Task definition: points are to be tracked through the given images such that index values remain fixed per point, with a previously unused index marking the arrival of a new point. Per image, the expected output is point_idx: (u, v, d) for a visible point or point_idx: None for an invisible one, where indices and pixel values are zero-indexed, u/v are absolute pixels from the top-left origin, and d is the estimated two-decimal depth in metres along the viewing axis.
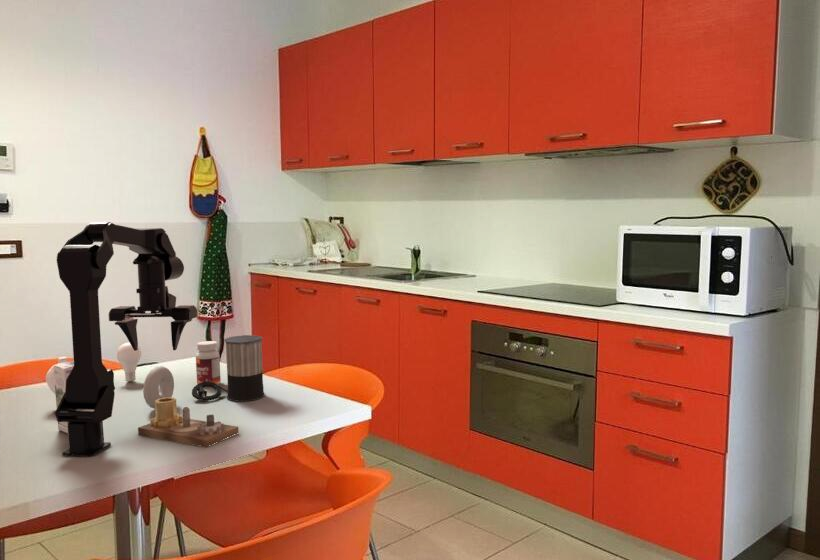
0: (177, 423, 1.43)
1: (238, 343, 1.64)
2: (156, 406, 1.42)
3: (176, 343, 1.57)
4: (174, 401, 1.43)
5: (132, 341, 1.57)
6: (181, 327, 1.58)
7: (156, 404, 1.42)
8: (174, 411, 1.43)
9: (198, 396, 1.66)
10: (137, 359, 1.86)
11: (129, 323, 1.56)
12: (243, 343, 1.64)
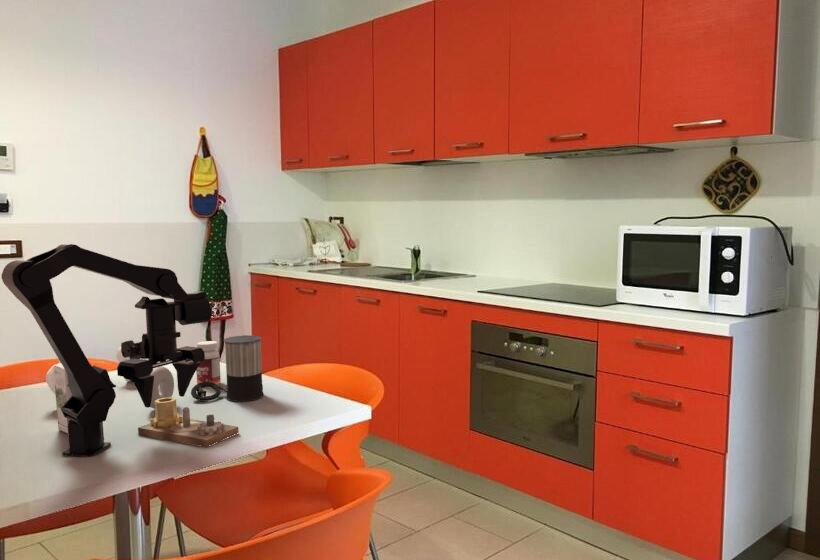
0: (177, 423, 1.43)
1: (237, 343, 1.64)
2: (156, 406, 1.42)
3: None
4: (174, 401, 1.43)
5: (150, 396, 1.39)
6: None
7: (156, 404, 1.42)
8: (174, 411, 1.43)
9: (197, 396, 1.66)
10: None
11: None
12: (242, 343, 1.64)
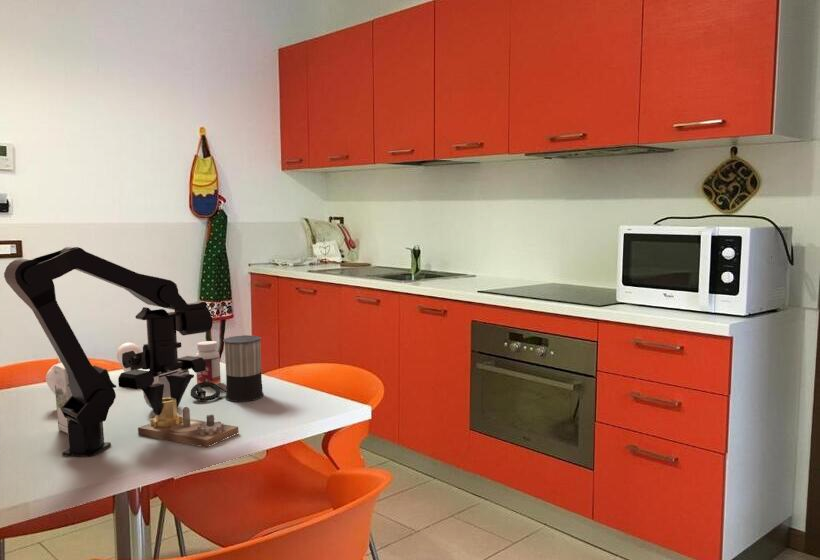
0: (177, 423, 1.43)
1: (237, 343, 1.64)
2: None
3: None
4: (174, 401, 1.43)
5: (160, 404, 1.41)
6: None
7: None
8: (174, 411, 1.43)
9: (197, 396, 1.65)
10: None
11: None
12: (242, 343, 1.64)
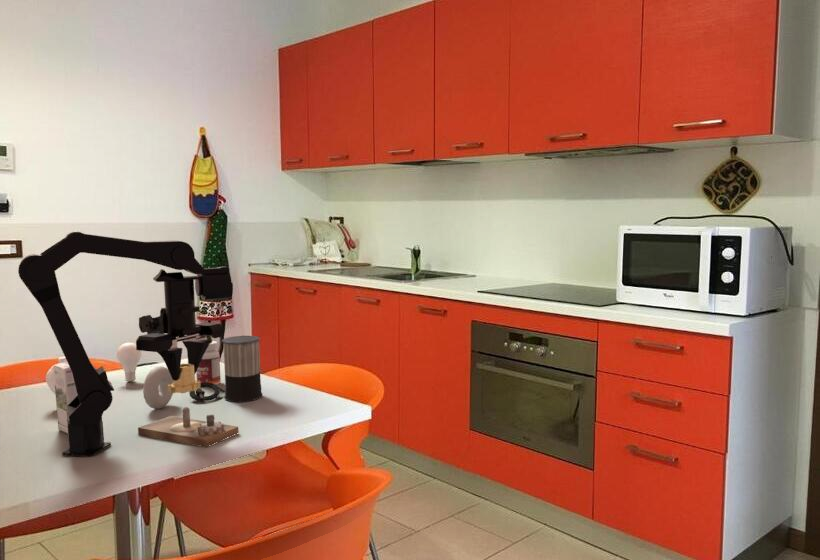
0: (195, 389, 1.39)
1: (235, 343, 1.64)
2: None
3: None
4: (192, 366, 1.40)
5: (178, 369, 1.38)
6: None
7: None
8: (192, 377, 1.40)
9: (196, 396, 1.65)
10: (137, 359, 1.86)
11: None
12: (240, 343, 1.64)
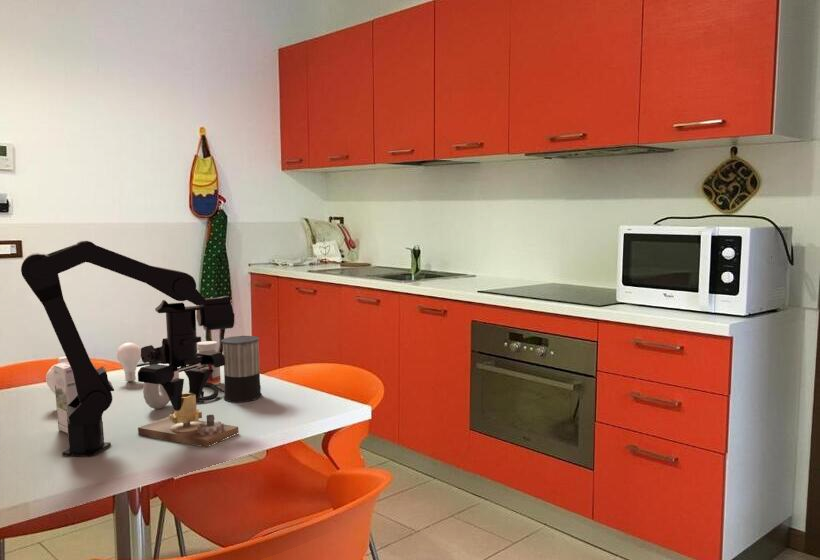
0: (197, 419, 1.40)
1: (235, 343, 1.64)
2: None
3: None
4: (193, 396, 1.41)
5: (180, 400, 1.38)
6: None
7: None
8: (194, 407, 1.40)
9: None
10: (137, 359, 1.86)
11: None
12: (240, 344, 1.64)
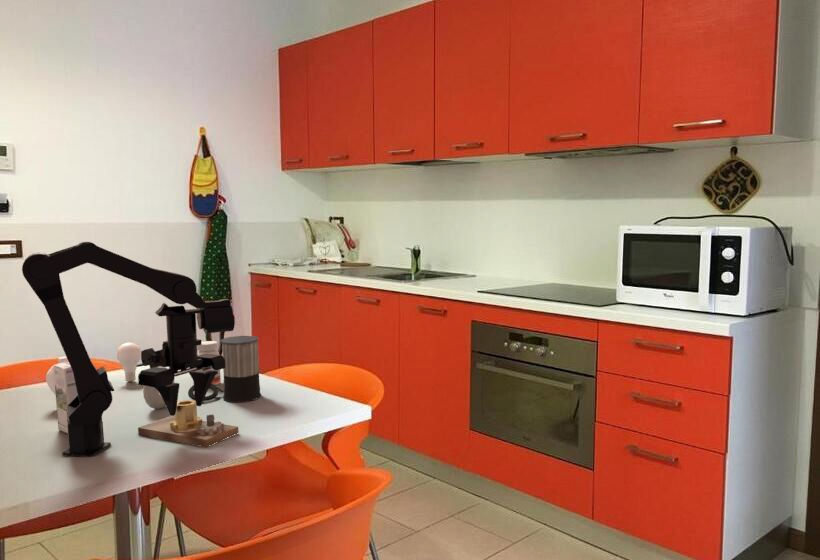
0: (197, 427, 1.40)
1: (234, 344, 1.63)
2: (176, 409, 1.40)
3: None
4: (194, 404, 1.41)
5: (175, 404, 1.37)
6: None
7: None
8: (194, 414, 1.41)
9: (194, 397, 1.65)
10: (137, 359, 1.86)
11: None
12: (239, 344, 1.63)
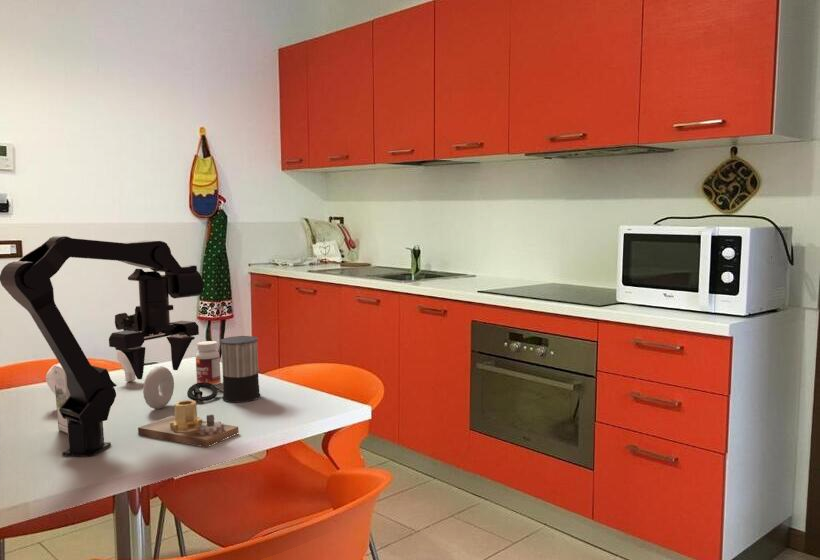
0: (197, 427, 1.40)
1: (233, 344, 1.63)
2: (176, 409, 1.40)
3: None
4: (194, 404, 1.41)
5: (142, 368, 1.39)
6: None
7: (176, 407, 1.39)
8: (194, 414, 1.41)
9: (193, 397, 1.65)
10: None
11: None
12: (238, 344, 1.63)
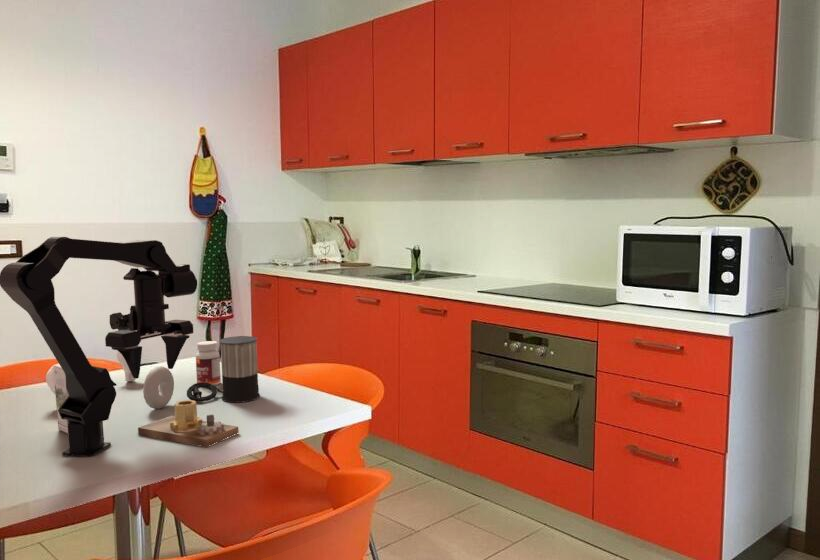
0: (197, 427, 1.40)
1: (232, 344, 1.63)
2: (176, 409, 1.40)
3: None
4: (194, 404, 1.41)
5: (139, 367, 1.39)
6: None
7: (176, 407, 1.39)
8: (194, 414, 1.41)
9: (193, 397, 1.65)
10: None
11: None
12: (237, 344, 1.63)
